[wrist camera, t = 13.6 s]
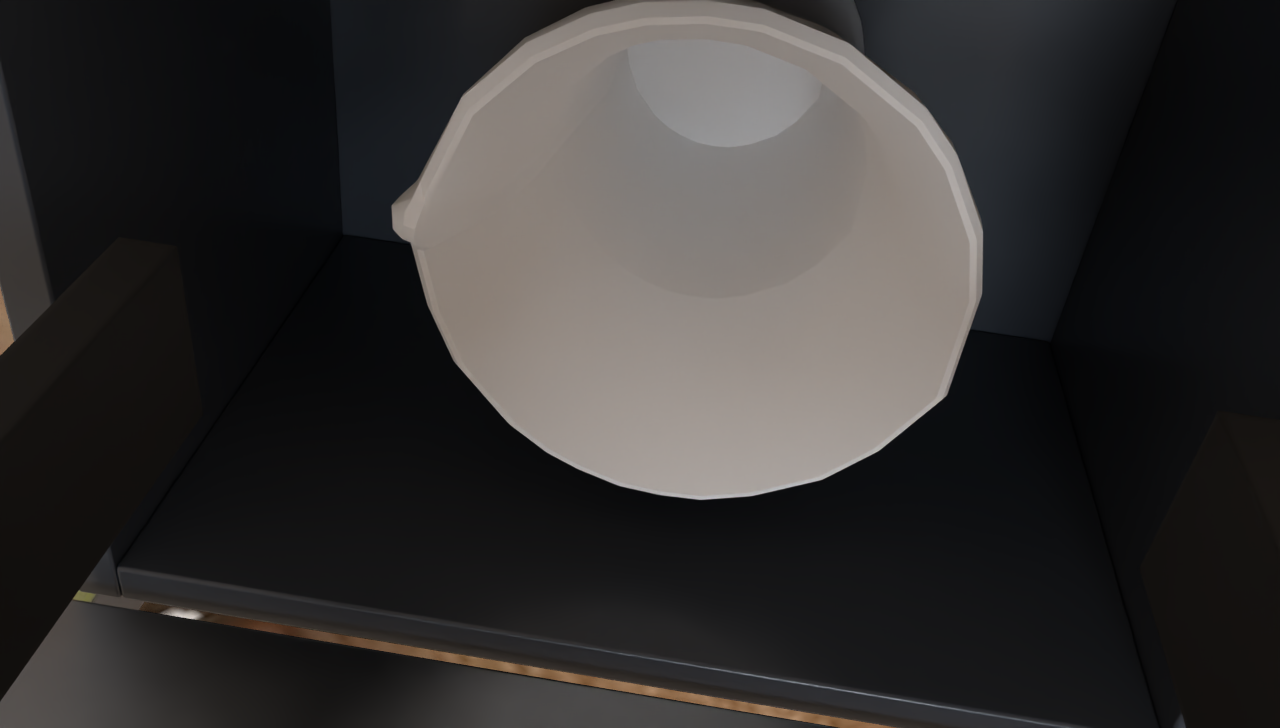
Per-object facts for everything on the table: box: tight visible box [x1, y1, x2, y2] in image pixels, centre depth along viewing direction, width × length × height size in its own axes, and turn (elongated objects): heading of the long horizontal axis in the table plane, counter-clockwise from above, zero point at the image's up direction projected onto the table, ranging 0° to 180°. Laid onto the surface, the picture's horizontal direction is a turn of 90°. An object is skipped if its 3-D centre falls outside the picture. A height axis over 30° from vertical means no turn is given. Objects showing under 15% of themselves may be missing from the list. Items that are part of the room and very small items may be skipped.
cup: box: [392, 0, 983, 500], centre depth 22 cm, size 9×9×10 cm
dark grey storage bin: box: [0, 0, 1280, 728], centre depth 22 cm, size 14×20×13 cm
